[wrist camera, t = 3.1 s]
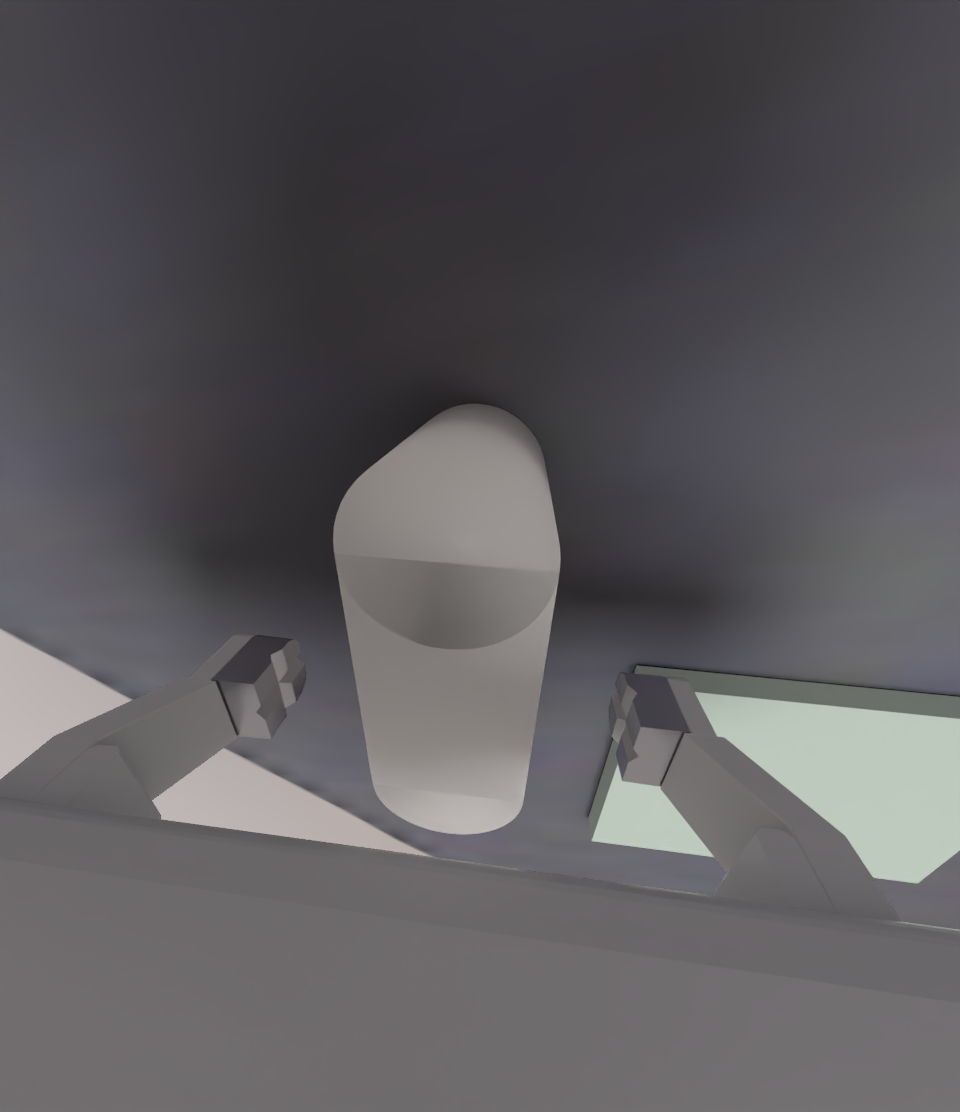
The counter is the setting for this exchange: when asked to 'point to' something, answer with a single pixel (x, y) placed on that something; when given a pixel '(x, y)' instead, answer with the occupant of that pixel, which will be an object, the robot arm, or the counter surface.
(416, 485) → the connector
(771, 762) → the green mat
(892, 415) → the counter surface
